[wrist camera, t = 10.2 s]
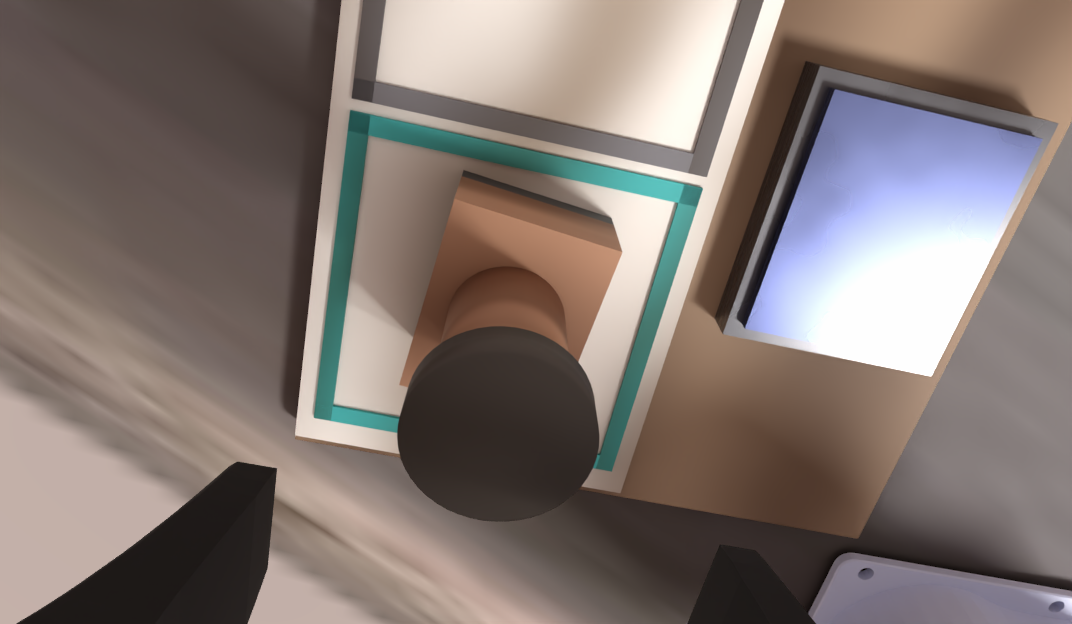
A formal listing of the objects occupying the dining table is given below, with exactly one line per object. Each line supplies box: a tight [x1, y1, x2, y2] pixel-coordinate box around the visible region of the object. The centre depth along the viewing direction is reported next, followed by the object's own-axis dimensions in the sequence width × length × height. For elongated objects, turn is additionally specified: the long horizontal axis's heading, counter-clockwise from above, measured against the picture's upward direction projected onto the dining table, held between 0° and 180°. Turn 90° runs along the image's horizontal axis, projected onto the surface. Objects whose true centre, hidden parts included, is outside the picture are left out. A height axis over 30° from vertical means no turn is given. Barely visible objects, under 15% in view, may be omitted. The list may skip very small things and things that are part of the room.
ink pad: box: [714, 61, 1059, 376], centre depth 19 cm, size 6×7×1 cm
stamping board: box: [295, 0, 1072, 539], centre depth 20 cm, size 18×20×1 cm
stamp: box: [397, 170, 622, 521], centre depth 17 cm, size 5×4×8 cm
